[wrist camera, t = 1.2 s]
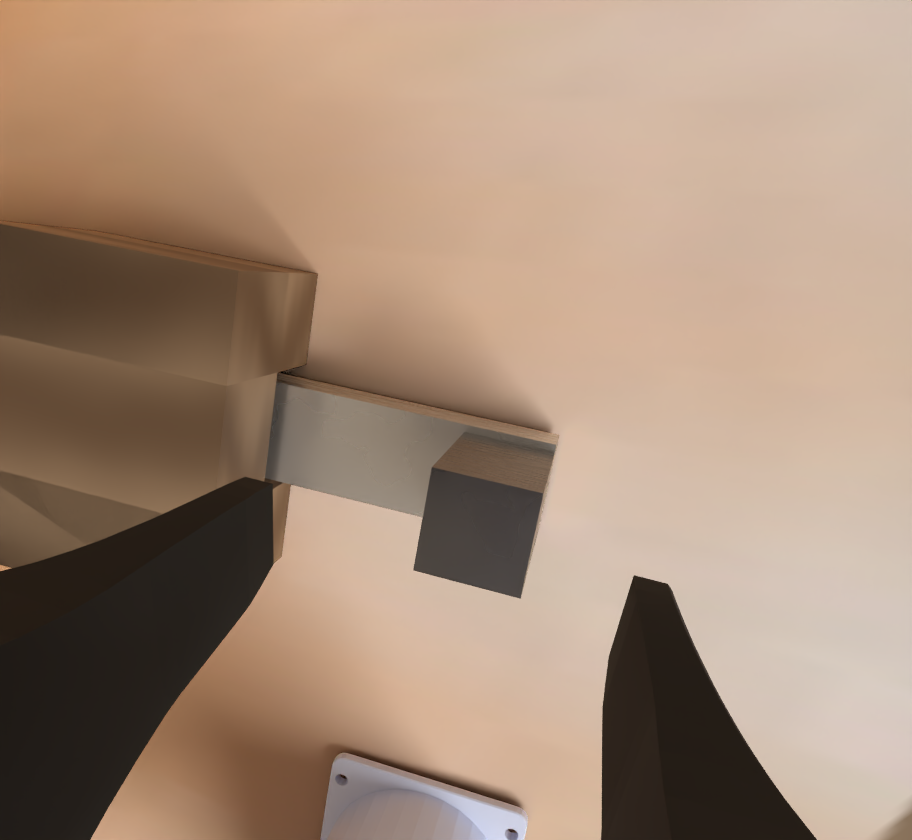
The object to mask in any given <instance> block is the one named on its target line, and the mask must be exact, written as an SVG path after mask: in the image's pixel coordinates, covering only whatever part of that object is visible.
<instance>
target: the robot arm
mask: <svg viewBox="0 0 912 840" xmlns="http://www.w3.org/2000/svg"><path fill="white" fill-rule="evenodd" d="M273 564H274V548H273V484H272V483H268V482H264V481H260V480H256V479H252V478H248V477H243V478H241V479H238V480H236V481H233V482H231V483H229V484H227V485H224V486H222V487H220V488H218V489H216V490H213V491H211V492H209V493H207V494H205V495H203V496H201V497H198V498H196V499H194V500H192V501H190V502H188V503H186V504H183V505H181V506H179V507H177V508H175V509H172V510H170V511H168V512H166V513H164V514H162V515H159V516H157V517H155V518H153V519H150V520H148V521H146V522H143V523H141V524H138V525H136V526H134V527H131V528H129V529H126V530H124V531H121V532H119V533H117V534H114V535H112V536H109V537H107V538H104V539H102V540H99V541H97V542H94V543H91V544H89V545H86V546H83V547H80V548H77V549H75V550H72V551H69V552H66V553H62V554H59V555H56V556H53V557H50V558H47V559H44V560H41V561H37V562H34V563H31V564H27V565H23V566H19V567H15V568H12V569H8V570H4V571H0V840H90V839H91V837H92V835H93V834H94V832H95V830H96V828H97V827H98V825H99V823H100V821H101V819H102V818H103V816H104V814H105V812H106V811H107V809H108V807H109V805H110V804H111V802H112V800H113V799H114V797H115V795H116V794H117V792H118V790H119V789H120V787H121V785H122V784H123V782H124V780H125V779H126V777H127V775H128V774H129V772H130V770H131V769H132V767H133V765H134V764H135V762H136V760H137V759H138V757H139V756H140V754H141V752H142V751H143V749H144V748H145V746H146V745H147V743H148V741H149V740H150V738H151V737H152V735H153V734H154V732H155V730H156V729H157V727H158V726H159V724H160V723H161V721H162V719H163V718H164V716H165V715H166V713H167V712H168V710H169V709H170V708H171V706H172V705H173V704H174V702H175V701H176V699H177V698H178V697H179V695H180V694H181V692H182V691H183V690H184V689H185V687H186V686H187V685H188V684H189V682H190V681H191V680H192V678H193V677H194V676H195V675H196V673H197V672H198V671H199V670H200V668H201V667H202V666H203V664H204V663H205V662H206V661H207V659H208V658H209V657H210V656H211V654H212V653H213V652H214V651H215V649H216V648H217V647H218V645H219V644H220V643H221V642H222V640H223V639H224V638H225V637H226V635H227V634H228V633H229V631H230V630H231V629H232V627H233V626H234V625H235V624H236V622H237V621H238V620H239V618H240V617H241V616H242V614H243V613H244V612H245V610H246V609H247V608H248V606H249V605H250V603H251V602H252V600H253V599H254V597H255V595H256V594H257V592H258V590H259V589H260V587H261V585H262V583H263V582H264V580H265V578H266V576H267V575H268V573H269V571H270V569H271V567H272V566H273ZM339 774H343V775H344V776H346V778H347V779H344V778H342V777H341V776H340V775H339ZM527 823H528V816H527V814H526V812H525V811H524V810H523V809H522V808H520V807H518V806H514V805H511V804H508V803H505V802H502V801H498V800H495V799H492V798H489V797H486V796H483V795H479V794H476V793H473V792H470V791H467V790H464V789H460V788H457V787H454V786H451V785H448V784H444V783H441V782H438V781H435V780H432V779H429V778H425V777H422V776H419V775H416V774H413V773H409V772H406V771H403V770H400V769H397V768H394V767H390V766H387V765H384V764H381V763H378V762H375V761H371V760H368V759H365V758H362V757H359V756H355V755H352V754H349V753H340V754H338V755H337V756H336V758H335V760H334V761H333V764H332V768H331V775H330V781H329V787H328V793H327V800H326V806H325V812H324V819H323V825H322V831H321V837H320V840H524V837H525V833H526V829H527ZM507 829H514V830H516V831H517V832H516V833H512V832H510V831H508V830H507ZM601 840H817V839H816V838H815V837H814V835H813V834H812V833H811V832H810V830H809V829H808V828H807V827H806V825H805V824H804V823H803V821H802V820H801V819H800V818H799V816H798V815H797V814H796V813H795V811H794V810H793V809H792V808H791V806H790V805H789V804H788V803H787V801H786V800H785V799H784V797H783V796H782V794H781V793H780V792H779V790H778V789H777V787H776V786H775V785H774V783H773V782H772V780H771V779H770V778H769V776H768V775H767V773H766V772H765V770H764V769H763V767H762V766H761V764H760V763H759V761H758V760H757V758H756V757H755V755H754V754H753V752H752V751H751V749H750V747H749V746H748V744H747V743H746V741H745V739H744V738H743V736H742V734H741V733H740V731H739V729H738V728H737V726H736V724H735V723H734V721H733V719H732V717H731V716H730V714H729V712H728V710H727V709H726V707H725V705H724V703H723V702H722V700H721V698H720V696H719V694H718V692H717V690H716V688H715V687H714V685H713V683H712V681H711V679H710V677H709V675H708V673H707V670H706V668H705V666H704V664H703V662H702V660H701V658H700V656H699V654H698V652H697V650H696V648H695V646H694V643H693V641H692V639H691V637H690V634H689V632H688V630H687V627H686V625H685V623H684V620H683V618H682V615H681V613H680V610H679V608H678V605H677V603H676V600H675V597H674V595H673V592H672V590H671V588H670V587H669V585H668V584H666V583H662V582H658V581H654V580H650V579H646V578H642V577H638V576H634V577H633V580H632V583H631V586H630V590H629V593H628V596H627V599H626V603H625V606H624V609H623V612H622V616H621V619H620V622H619V625H618V629H617V632H616V635H615V638H614V642H613V645H612V648H611V651H610V655H609V660H608V668H607V676H606V684H605V692H604V701H603V720H602V833H601Z"/></svg>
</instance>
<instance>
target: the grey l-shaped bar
mask: <svg viewBox="0 0 912 840" xmlns="http://www.w3.org/2000/svg"><path fill="white" fill-rule="evenodd" d="M558 439H559V435H557V434H553V433H548V432H544V431H539V430H535V429H530V428H526V427H521V426H517V425H512V424H508V423H503V422H499V421H494V420H490V419H485V418H481V417H476V416H472V415H467V414H463V413H458V412H454V411H449V410H445V409H440V408H436V407H431V406H426V405H422V404H417V403H413V402H408V401H404V400H399V399H395V398H390V397H386V396H381V395H377V394H372V393H368V392H363V391H359V390H354V389H350V388H345V387H341V386H336V385H332V384H327V383H323V382H318V381H314V380H309V379H305V378H300V377H296V376H291V375H287V374H282V373H278V372H277V380H276V389H275V397H274V405H273V414H272V422H271V431H270V439H269V447H268V456H267V464H266V473H265V478H267V479H271V480H275V481H279V482H283V483H287V484H291V485H295V486H299V487H303V488H307V489H311V490H315V491H319V492H323V493H327V494H331V495H335V496H339V497H343V498H347V499H351V500H355V501H359V502H363V503H367V504H371V505H375V506H379V507H383V508H387V509H391V510H395V511H399V512H403V513H407V514H411V515H415V516H419V517H423V519H422V525H421V530H420V536H419V542H418V547H417V553H416V558H415V564H414V571H418V572H422V573H426V574H430V575H433V576H437V577H441V578H445V579H449V580H452V581H456V582H460V583H464V584H467V585H471V586H475V587H479V588H483V589H486V590H490V591H494V592H498V593H502V594H505V595H509V596H513V597H517V598H521V595H522V591H523V587H524V583H525V579H526V575H527V571H528V568H529V564H530V560H531V556H532V552H533V548H534V545H535V541H536V538H537V534H538V530H539V525H540V521H541V516H542V512H543V507H544V503H545V498H546V494H547V489H548V485H549V480H550V475H551V471H552V466H553V462H554V457H555V453H556V448H557V444H558Z"/></svg>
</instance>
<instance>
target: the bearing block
mask: <svg viewBox="0 0 912 840" xmlns="http://www.w3.org/2000/svg"><path fill="white" fill-rule="evenodd" d="M317 276H318V274H316V273H310V272H305V271H300V270H295V269H290V268H285V267H279V266H274V265H269V264H264V263H259V262H254V261H249V260H243V259H238V258H233V257H228V256H223V255H218V254H212V253H207V252H202V251H197V250H192V249H187V248H181V247H176V246H171V245H166V244H161V243H156V242H151V241H145V240H140V239H135V238H130V237H125V236H120V235H114V234H109V233H104V232H99V231H92V230H83V229H74V228H64V227H55V226H46V225H36V224H27V223H18V222H8V221H0V565H4V566H7V567H10V568H15V567H19V566H23V565H27V564H31V563H34V562H37V561H41V560H44V559H47V558H50V557H53V556H56V555H59V554H62V553H66V552H69V551H72V550H75V549H77V548H80V547H83V546H86V545H89V544H91V543H94V542H97V541H99V540H102V539H104V538H107V537H109V536H112V535H114V534H117V533H119V532H121V531H124V530H126V529H129V528H131V527H134V526H136V525H138V524H141V523H143V522H146V521H148V520H150V519H153V518H155V517H157V516H159V515H162V514H164V513H166V512H168V511H170V510H172V509H175V508H177V507H179V506H181V505H183V504H186V503H188V502H190V501H192V500H194V499H196V498H198V497H201V496H203V495H205V494H207V493H209V492H211V491H213V490H216V489H218V488H220V487H222V486H224V485H227V484H229V483H231V482H233V481H236V480H238V479H241V478H243V477H248V478H252V479H256V480H260V481H264V482H268V483H272V484H273V548H274V563H275V562H276V561H277V560H278V559H279V558H280V557H281V556H282V548H283V540H284V533H285V525H286V517H287V509H288V502H289V494H290V486H291V484H287V483H283V482H279V481H275V480H271V479H267V478H265V473H266V464H267V456H268V447H269V439H270V431H271V422H272V414H273V405H274V397H275V389H276V380H277V372H281V371H285V370H288V369H292V368H296V367H299V366H303V365H306V362H307V354H308V346H309V338H310V331H311V323H312V315H313V307H314V300H315V292H316V284H317Z"/></svg>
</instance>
